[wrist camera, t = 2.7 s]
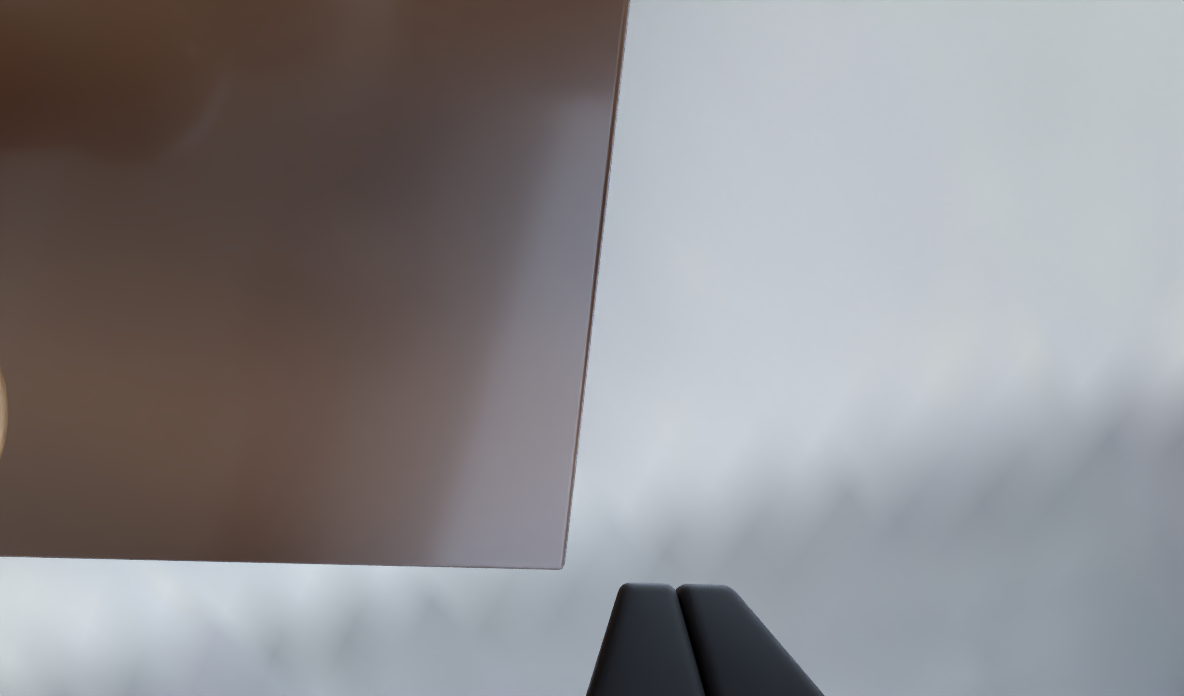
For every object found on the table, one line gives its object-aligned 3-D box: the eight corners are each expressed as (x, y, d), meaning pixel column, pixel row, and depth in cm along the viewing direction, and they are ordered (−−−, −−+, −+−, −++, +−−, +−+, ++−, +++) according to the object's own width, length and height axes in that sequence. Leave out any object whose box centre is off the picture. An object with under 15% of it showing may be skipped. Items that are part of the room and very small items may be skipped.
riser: (557, 486, 19) (564, 572, 17) (-53, 467, 18) (-114, 556, 16) (644, -324, 12) (668, -322, 11) (-299, -436, 11) (-446, -455, 10)
